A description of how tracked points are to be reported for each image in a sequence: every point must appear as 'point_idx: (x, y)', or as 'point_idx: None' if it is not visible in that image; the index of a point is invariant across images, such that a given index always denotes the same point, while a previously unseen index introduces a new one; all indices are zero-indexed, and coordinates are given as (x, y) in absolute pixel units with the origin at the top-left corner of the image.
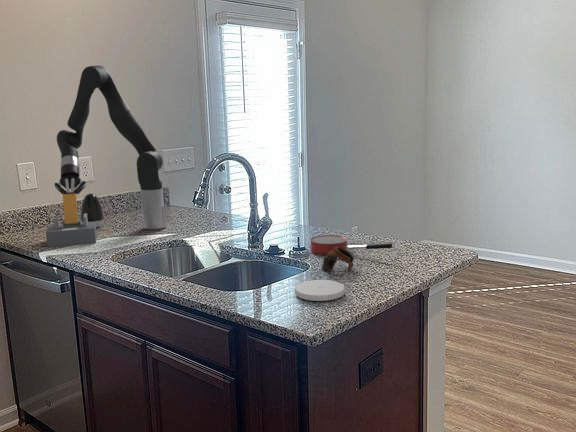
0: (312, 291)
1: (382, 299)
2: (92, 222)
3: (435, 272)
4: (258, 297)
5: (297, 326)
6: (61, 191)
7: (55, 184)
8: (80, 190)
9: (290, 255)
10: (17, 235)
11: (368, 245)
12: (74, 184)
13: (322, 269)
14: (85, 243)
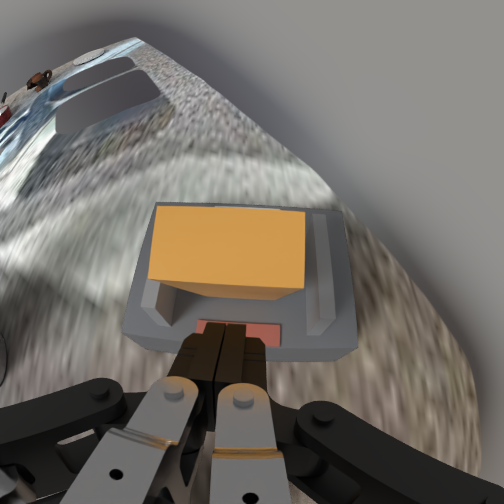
0: (96, 51)
1: (74, 59)
2: (136, 324)
3: (20, 89)
4: (118, 53)
5: (132, 39)
6: (351, 488)
7: (491, 492)
8: (70, 448)
9: (21, 114)
10: (453, 465)
11: (3, 100)
12: (85, 498)
13: (46, 85)
14: None
